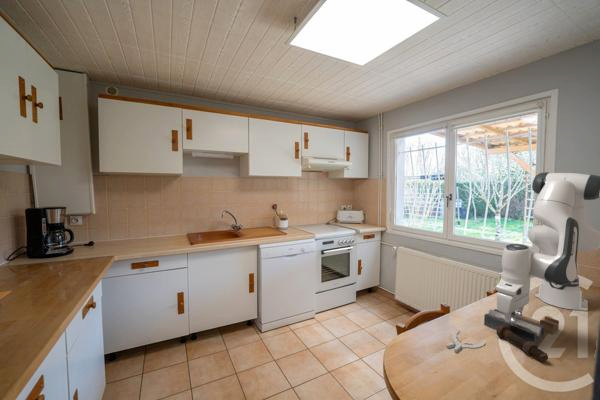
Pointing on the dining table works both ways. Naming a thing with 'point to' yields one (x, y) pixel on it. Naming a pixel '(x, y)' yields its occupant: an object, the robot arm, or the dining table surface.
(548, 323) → the beam
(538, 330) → the axle
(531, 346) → the bolt
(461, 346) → the pliers
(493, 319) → the v block
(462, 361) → the dining table surface
